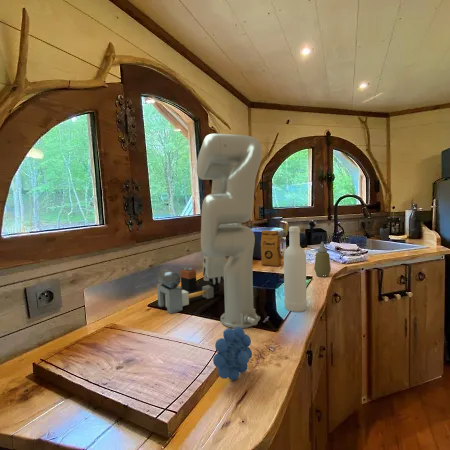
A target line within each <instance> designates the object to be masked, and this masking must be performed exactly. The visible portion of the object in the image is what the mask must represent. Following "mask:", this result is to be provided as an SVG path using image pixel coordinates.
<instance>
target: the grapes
mask: <svg viewBox="0 0 450 450" xmlns="http://www.w3.org/2000/svg"><path fill="white" fill-rule="evenodd" d="M222 336H223V338H219V339H217V340H216V342H215V345H214V346H215V350H216V351H217V353H215V355H214V356H213V358H212V362H213V365H214V367H216V368H217V375H218V376H219V378H221V379H222V380H225V379H229V380H231V381H236V380H237V379H238V378H239V377H240V374H242V373H246V372H247V370H248V366H249V365H248V363H249V362H250V359H251V358H252V356H253V352H252V349H251V348H250V346H251V344H252V340H251V339H252V338H251V337H250V335H249V334H246V333H245V330H244V328H241V327H236V328H231V327H227V328H226V329H224V331H223V335H222Z"/></svg>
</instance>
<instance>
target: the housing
mask: <svg viewBox="0 0 450 450" xmlns="http://www.w3.org/2000/svg"><path fill="white" fill-rule="evenodd" d="M157 280H158V283H156V284H157V285H156V288H157V289H156V291H157V305H158V307H160V308H163V307H166V301H165V294H166V295H167V307H166V310H167V311H166V312H167V313H168V314H170V315H172V314H176V313H178V312H182V311H183V307H184V306H182V290H183V289H182V287H181V285H180V284H181V275H179V273H176V272H174V271H171V270H169V269H166V268H163V269H161V270H159V271H158V274H157ZM179 285H180V286H179Z"/></svg>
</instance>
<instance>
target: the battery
mask: <svg viewBox="0 0 450 450" xmlns="http://www.w3.org/2000/svg"><path fill="white" fill-rule="evenodd" d="M180 287H182V290H185V291H187V292H191V291H195V290H197V271H196V269H193V268H192V267H186V266H185V267H184V268H182V269H180Z"/></svg>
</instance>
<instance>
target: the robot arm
mask: <svg viewBox="0 0 450 450" xmlns="http://www.w3.org/2000/svg"><path fill="white" fill-rule="evenodd" d="M262 151H263V150H262V144H261V143H260V141H259V140H258V138H256V137H254V136H250V135H245V134H233V133H231V134H228V133H210V134H207V135H206V136H205V137H204V139H203V141H202V145H201V147H200V150H199V153H198V155H197V161H196V174H197V176H198V179H199V180H203V181H205V180H207V181H209V180H211V181H212V184H211V193H209V194H207V195H206V196H204V198H203V201H202V205H201V220H200V223H201V225H200V226H201V227H200V248H201V251H202V255H203V259H202V275H203V281H205V282H209V283H210V284H211V285H210V286H212V287H213V290H214V294H217V293H220V283H221V280H222V279H223V289H224V290H223V294H224V312H223V313H222V314H221V316H220V322H221V324H222V325H223V326H225V327H227V328H231V329H235V328H236V327H241V328H242V329H247V328H251V327H253V326H257V325H258V322H259V321H260V320H261V316H260V315H258V314H257V313H256V308H254V284H253V283H254V282H253V281H254V279H253V277H254V275H253V274H254V273H253V262H254V261H253V258H254V257H253V256H254V248H255V242H256V241H255V240H256V237H255V232H254V231H253V229H251V228H250V227H248V226H245V225H242V224H243V223H247V222H249V221H250V220H251V218H252V216H253V208H254V199H255V189H256V188H255V186H256V179H257V174H258V171H259V168H260V165H261V162H262V158H263V157H262V156H263V152H262ZM227 257H228V258H227Z"/></svg>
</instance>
